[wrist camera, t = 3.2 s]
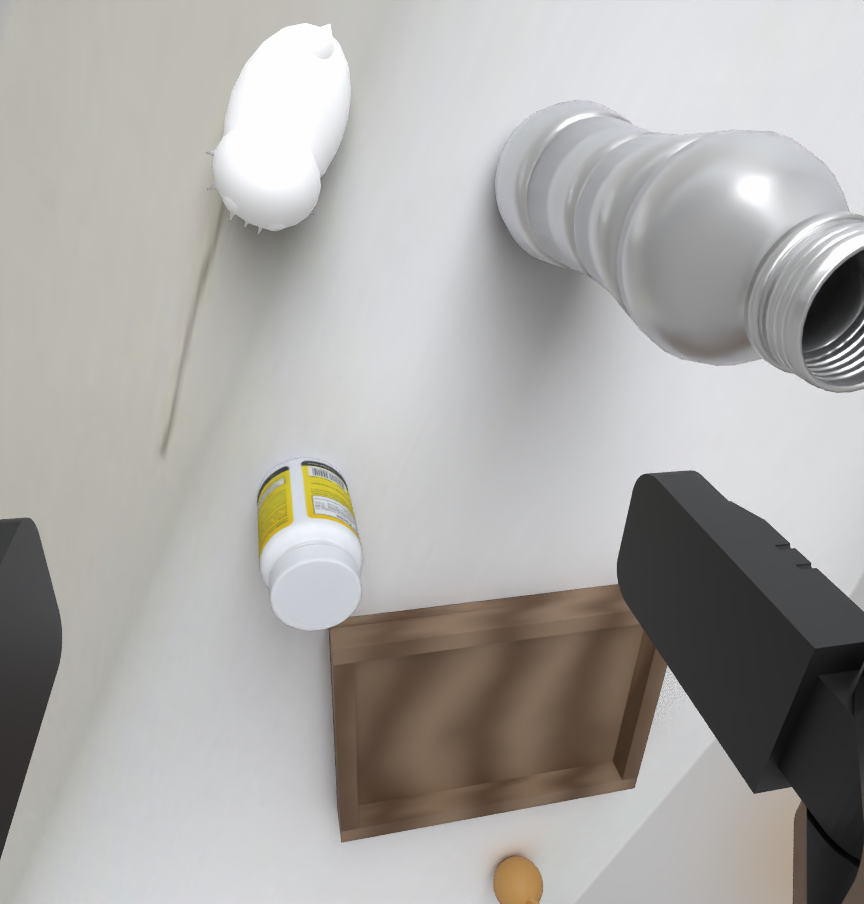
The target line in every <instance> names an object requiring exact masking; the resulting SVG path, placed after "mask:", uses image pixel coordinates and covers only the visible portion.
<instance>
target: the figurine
mask: <svg viewBox="0 0 864 904" xmlns="http://www.w3.org/2000/svg"><path fill="white" fill-rule="evenodd" d="M493 885H494V892H495V895H496V897H497V899H498V901H499V902H500V904H539V901H540V899H541V896H542V893H543V881H542V877H541V874H540V872H539V870H538V868H537V867H536V866H535V864H534V863H533V862H531V861H530V860H528V859H527V858H524V857H520V856H513V857H509V858H507V859H505V860H504V861H503V862H502V863H501V864H500V865H499V866H498V868H497V870H496V872H495V875H494V881H493Z"/></svg>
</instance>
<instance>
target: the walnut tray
mask: <svg viewBox="0 0 864 904" xmlns="http://www.w3.org/2000/svg"><path fill="white" fill-rule="evenodd" d="M329 640H330V661H331V683H332V704H333V725H334V746H335V767H336V788H337V809H338V818H339V827H340V836H341V843H342V842H347V841H352V840H358V839H363V838H369V837H374V836H379V835H385V834H390V833H396V832H401V831H406V830H412V829H417V828H422V827H428V826H433V825H439V824H444V823H449V822H455V821H460V820H465V819H471V818H476V817H482V816H487V815H492V814H498V813H503V812H509V811H514V810H519V809H525V808H530V807H535V806H541V805H546V804H552V803H557V802H562V801H568V800H573V799H578V798H584V797H589V796H595V795H600V794H605V793H611V792H616V791H622V790H627V789H632V788H635V784H636V781H637V777H638V773H639V769H640V766H641V762H642V758H643V754H644V751H645V747H646V743H647V739H648V736H649V732H650V728H651V724H652V721H653V717H654V713H655V709H656V706H657V702H658V698H659V695H660V691H661V687H662V683H663V680H664V676H665V672H666V668H667V664H666V662H665V661H664V659H663V658H662V656H661V655H660V653H659V652H658V650H657V649H656V647H655V646H654V644H653V643H652V641H651V640H650V638H649V637H648V635H647V634H646V632H645V631H644V629H643V628H642V626H641V625H640V623H639V622H638V621H637V619H636V618H635V616H634V615H633V613H632V612H631V610H630V609H629V607H628V606H627V604H626V602H625V601H624V599H623V596H622V594H621V591H620V588H619V584H618V585H610V586H602V587H593V588H585V589H577V590H569V591H561V592H553V593H544V594H536V595H528V596H520V597H512V598H504V599H495V600H487V601H479V602H471V603H463V604H455V605H446V606H438V607H430V608H422V609H414V610H406V611H397V612H389V613H381V614H373V615H365V616H357V617H349V618H347V619H345V620H344V621H343V622H341V623H339V624H337V625H335V626H333V627H330V628H329Z"/></svg>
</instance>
